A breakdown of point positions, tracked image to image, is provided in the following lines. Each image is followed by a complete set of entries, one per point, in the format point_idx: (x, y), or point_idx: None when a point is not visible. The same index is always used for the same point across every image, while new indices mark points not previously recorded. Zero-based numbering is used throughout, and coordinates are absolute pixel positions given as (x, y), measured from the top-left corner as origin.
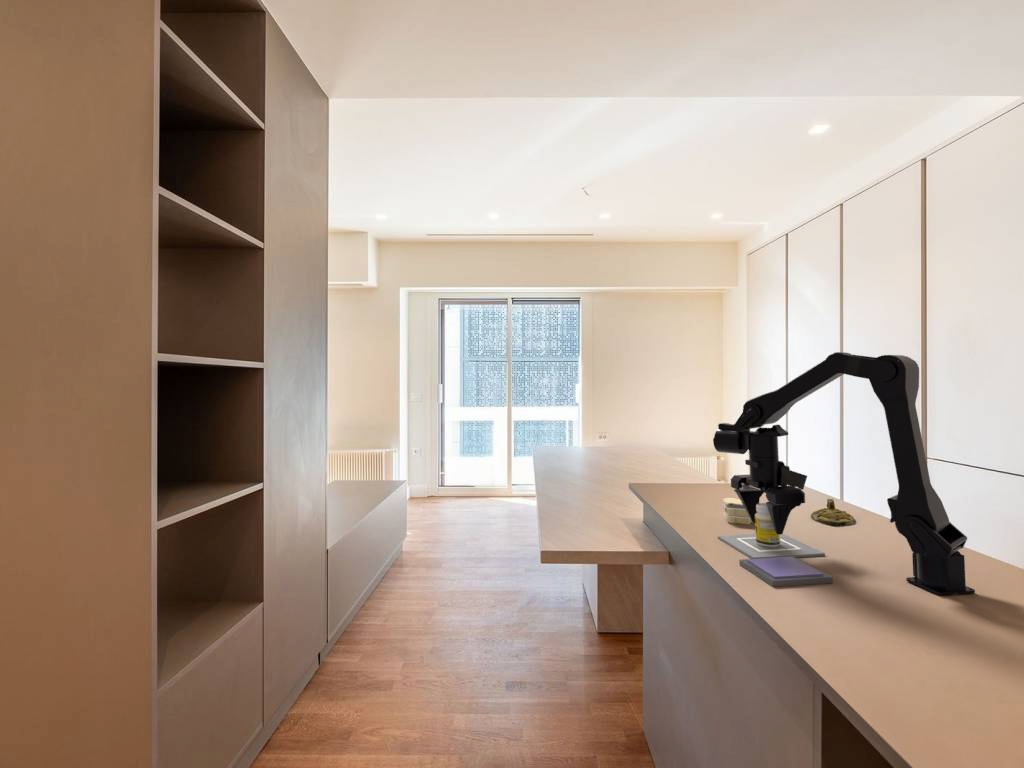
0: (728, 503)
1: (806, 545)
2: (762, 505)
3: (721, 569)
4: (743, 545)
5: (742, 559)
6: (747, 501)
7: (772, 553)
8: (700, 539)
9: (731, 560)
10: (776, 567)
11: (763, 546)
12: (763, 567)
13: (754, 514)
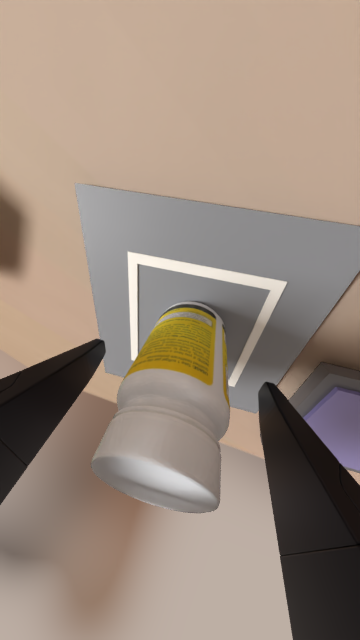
0: None
1: (264, 220)
2: (150, 496)
3: (259, 454)
4: None
5: None
6: (26, 449)
7: (258, 372)
8: (113, 392)
9: (234, 427)
10: (353, 449)
11: None
12: None
13: (83, 372)
